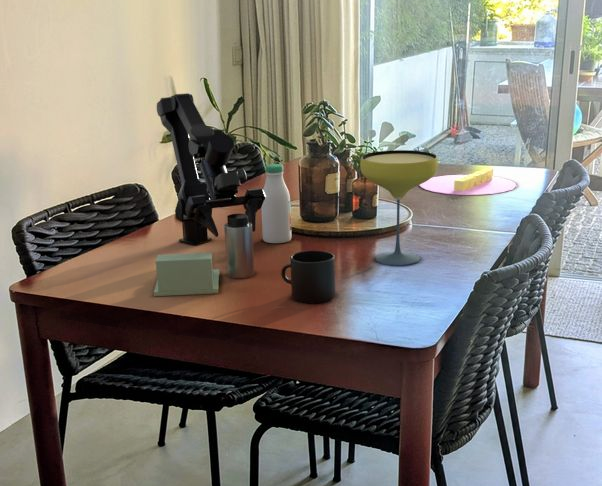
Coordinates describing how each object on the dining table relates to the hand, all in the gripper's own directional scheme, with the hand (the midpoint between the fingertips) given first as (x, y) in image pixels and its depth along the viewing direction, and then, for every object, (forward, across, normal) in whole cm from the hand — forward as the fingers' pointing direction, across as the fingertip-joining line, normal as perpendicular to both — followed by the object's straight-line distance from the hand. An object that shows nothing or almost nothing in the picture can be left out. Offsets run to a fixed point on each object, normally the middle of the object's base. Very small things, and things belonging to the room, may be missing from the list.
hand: (235, 233), depth 201 cm
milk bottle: (-8, +20, +22) cm, 31 cm away
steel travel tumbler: (+8, 0, +6) cm, 10 cm away
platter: (-31, +103, +44) cm, 116 cm away
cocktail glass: (+14, +38, 0) cm, 40 cm away
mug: (+24, +7, -10) cm, 27 cm away
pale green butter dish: (+9, -13, +5) cm, 17 cm away
